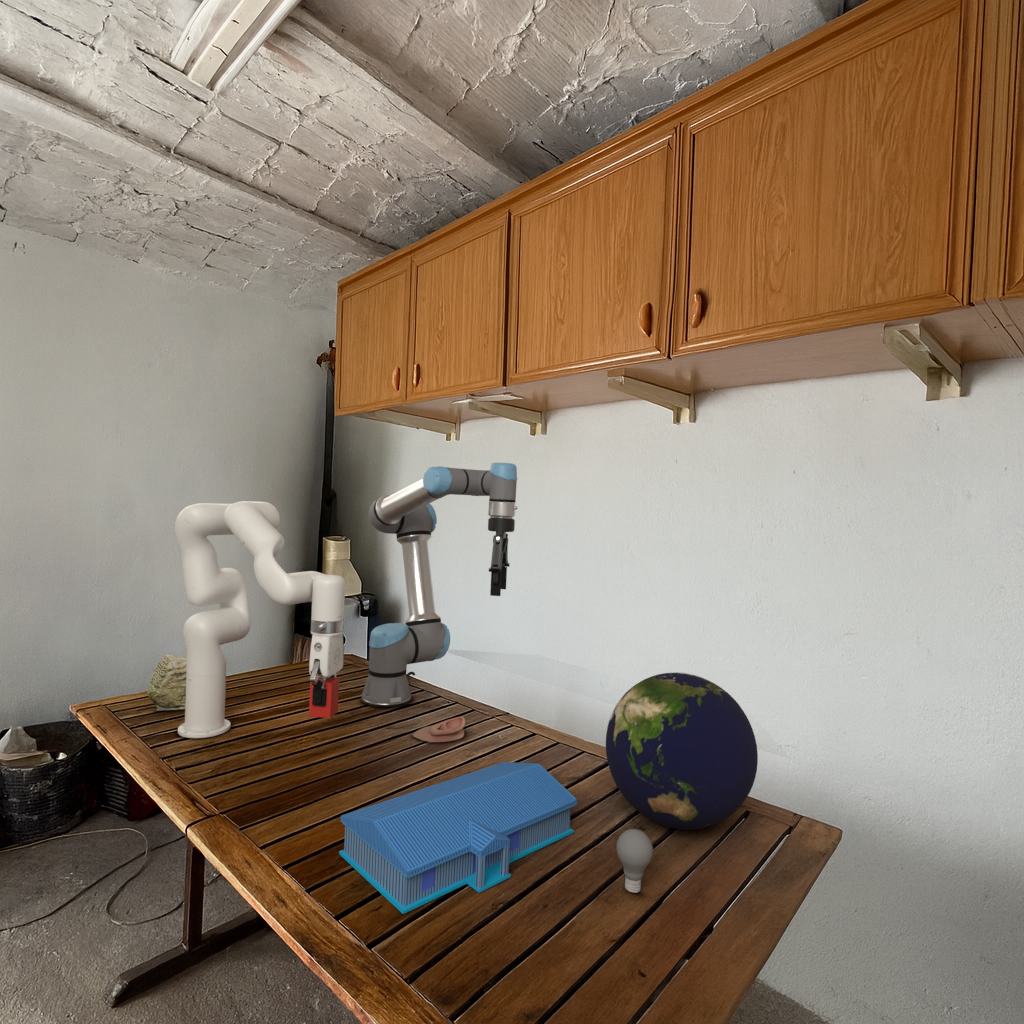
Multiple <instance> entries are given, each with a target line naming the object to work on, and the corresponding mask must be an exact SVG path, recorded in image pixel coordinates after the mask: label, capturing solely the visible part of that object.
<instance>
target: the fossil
mask: <svg viewBox="0 0 1024 1024" xmlns="http://www.w3.org/2000/svg"><path fill="white" fill-rule="evenodd" d="M186 666H187V657H186V656H183V657H182V656H178V655H175V654H174V655H173V654H165V655H164V656H163V657H162V658H161V659H160V660H159V662H158V663H157V666H156V667H155V669H154V670H153V672H152V675H151V677H150V680H149V684H148V688H147V697H148V699H149V700H150V701H152V703H153V704H154V706H155V711H158V712H159V711H162V712H163V711H177V710H185V701H186Z"/></svg>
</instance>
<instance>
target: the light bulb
mask: <svg viewBox="0 0 1024 1024" xmlns="http://www.w3.org/2000/svg"><path fill="white" fill-rule="evenodd" d="M615 849H616V854H617V857H618V859H619V861H620V863H621V865H622V867H623V873H624V874H623V875H624V876H625V878H624V888H625V890H627V891H628V892H630V893H634V894H635V893H639V892H640V891H641V889H642V887H641V886H642V879H643V877H644V875H645V871H646V868H647V867H648V866H649V864H650V863H651V861H652V859H653V855H654V847H653V843H652V841H651V838H649V836H648V835H647V834H646V833H645V832H643V831H642V830H641V829H636V828H629V829H627V830H625V831H623V832H622V833H621V834H620V835H619V837H618V839H617V841H616V847H615Z"/></svg>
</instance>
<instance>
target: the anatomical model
mask: <svg viewBox="0 0 1024 1024" xmlns="http://www.w3.org/2000/svg"><path fill="white" fill-rule="evenodd" d="M465 726H466V719H465V717H463V716H457V717H453V718H449V719H446V720H444V721H440V722H438V723H435V724H432V725H429V726H424V727H422V728H420V729H418V730H416V731H415V732H414V733H412V737H413V738H415V739H418V740H420V741H424V742H427V743H444V742H445V743H446V742H452V741H458V740H461V739H462V738H464V736H465V730H464V728H465Z"/></svg>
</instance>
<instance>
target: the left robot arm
mask: <svg viewBox="0 0 1024 1024" xmlns="http://www.w3.org/2000/svg"><path fill="white" fill-rule="evenodd" d="M280 522H281V517H280V512H279V510H278V509H277V507H275V506H274V505H273V504H272V503H270V502H268V501H254V500H253V501H248V500H247V501H246V500H243V501H235V502H233V503H216V502H203V503H202V502H201V503H193V504H189V505H188V506H186V507H184V508H183V509H182V510H180V511H179V513H178V515H177V517H176V519H175V523H174V535H175V540H176V543H177V547H178V549H179V553H180V557H181V558H180V559H181V567H182V576H183V583H184V584H183V585H184V592H185V597H186V600H187V601H188V603H189V604H190V605H192V606H195V607H206V606H213V605H219V608H215V609H209V610H204V611H199V612H196V613H194V614H192V615H191V616H190V617H188V619H186V620H185V622H184V625H183V630H182V631H183V632H182V634H183V640H184V646H185V657H187V666H186V701H185V709H184V722H182V724H180V725H179V726H178V727H177V734H178V735H179V736H180V737H182V738H188V739H207V738H212V737H216V736H220V735H222V734H224V733H227V732H228V731H230V729H231V727H232V725H231V723H232V722H231V721H230V720H228V719H226V718H225V715H226V692H227V691H226V689H227V659H226V657H225V654H224V652H223V651H222V649H221V646H222V645H226V644H229V643H234V642H237V641H240V640H243V639H245V638H246V636H247V635H248V634H249V632H250V629H251V622H252V621H251V611H250V604H249V594H248V588H247V587H248V586H247V583H246V579H245V578H244V575H243V574H242V573H241V571H239V570H238V569H236V568H234V567H219V562H218V554H217V551H216V548H215V547H214V545H213V544H212V542H211V541H210V540H209V539H208V537H209V536H235V538H236V539H237V540H238V541H239V542H240V543H241V544H242V545H243V547H244V548H245V549H246V550H247V551H248V553H249V554H250V555H251V556H252V558H254V559H253V571H254V576H255V579H256V581H257V583H258V585H259V586H260V588H261V589H262V590H263V591H264V592H265V593H266V594H267V595H268V597H269V598H270V599H271V600H272V601H274V602H275V603H276V604H278V605H281V606H285V607H286V606H293V605H297V604H302V603H303V604H305V603H311V613H310V615H311V616H310V617H311V618H310V634H311V643H310V649H309V650H310V652H309V661H308V662H309V663H308V673H309V675H310V677H309V683H310V682H311V683H312V689H313V697H312V705H315V706H325V705H326V693H327V689H325V685H326V678H329V677H336V678H338V677H337V674H338V672H340V671H341V670H342V669H343V668H344V635H343V634H344V622H345V621H344V619H345V598H346V579H345V578H344V577H343V576H342V575H338V574H325V573H322V572H319V571H315V570H307V571H296V572H288V573H287V572H286V571H285V569H284V568H283V567H281V565H279V563H278V561H277V560H276V559H275V557H277V556H278V555H279V553H281V551H282V549H283V548H284V546H285V538H284V536H283V535H282V534H281V533H280V532H279V531H278V529H277V528H278V527H279V525H280ZM319 674H321V675H319ZM318 678H321V679H322V683H321V681H320V680H318Z"/></svg>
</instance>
